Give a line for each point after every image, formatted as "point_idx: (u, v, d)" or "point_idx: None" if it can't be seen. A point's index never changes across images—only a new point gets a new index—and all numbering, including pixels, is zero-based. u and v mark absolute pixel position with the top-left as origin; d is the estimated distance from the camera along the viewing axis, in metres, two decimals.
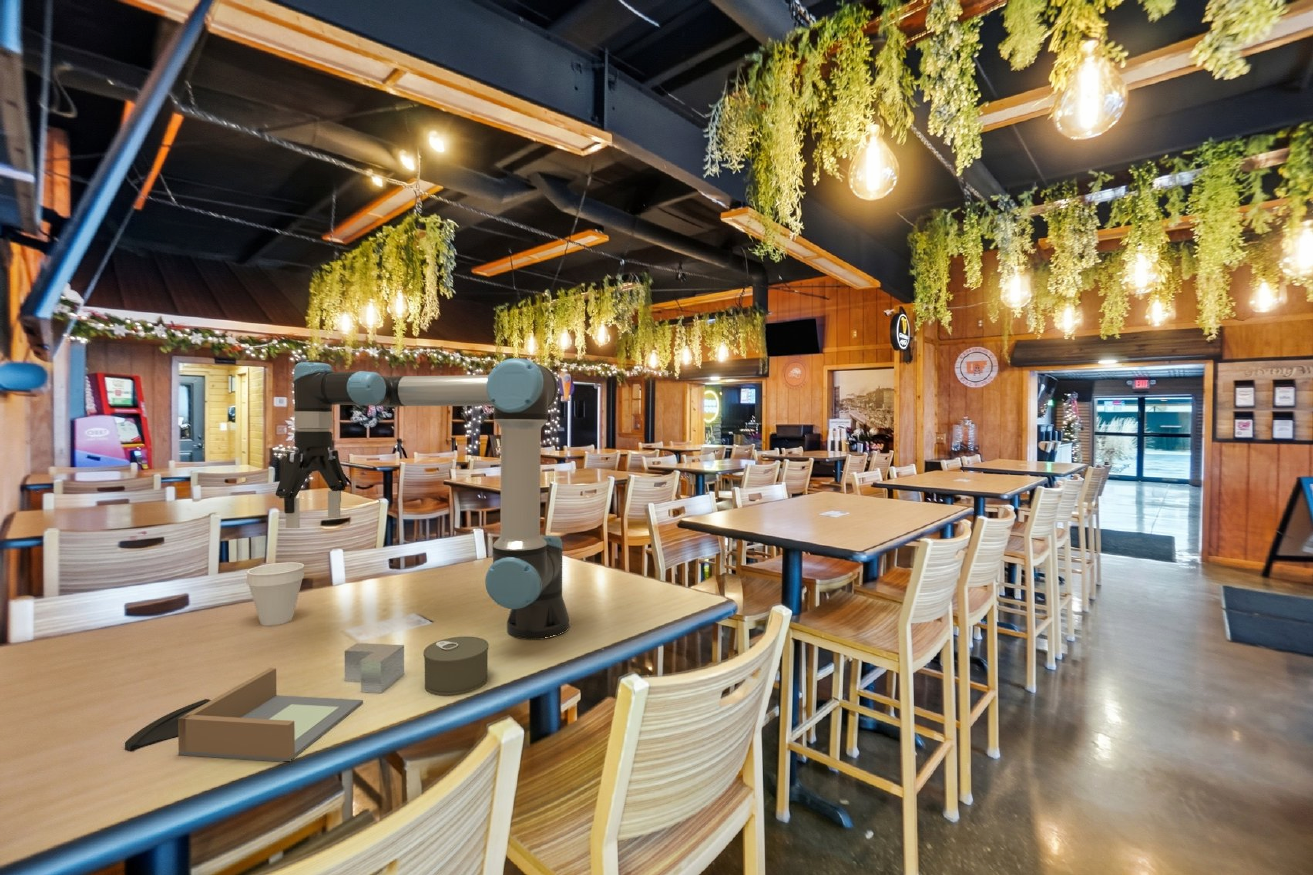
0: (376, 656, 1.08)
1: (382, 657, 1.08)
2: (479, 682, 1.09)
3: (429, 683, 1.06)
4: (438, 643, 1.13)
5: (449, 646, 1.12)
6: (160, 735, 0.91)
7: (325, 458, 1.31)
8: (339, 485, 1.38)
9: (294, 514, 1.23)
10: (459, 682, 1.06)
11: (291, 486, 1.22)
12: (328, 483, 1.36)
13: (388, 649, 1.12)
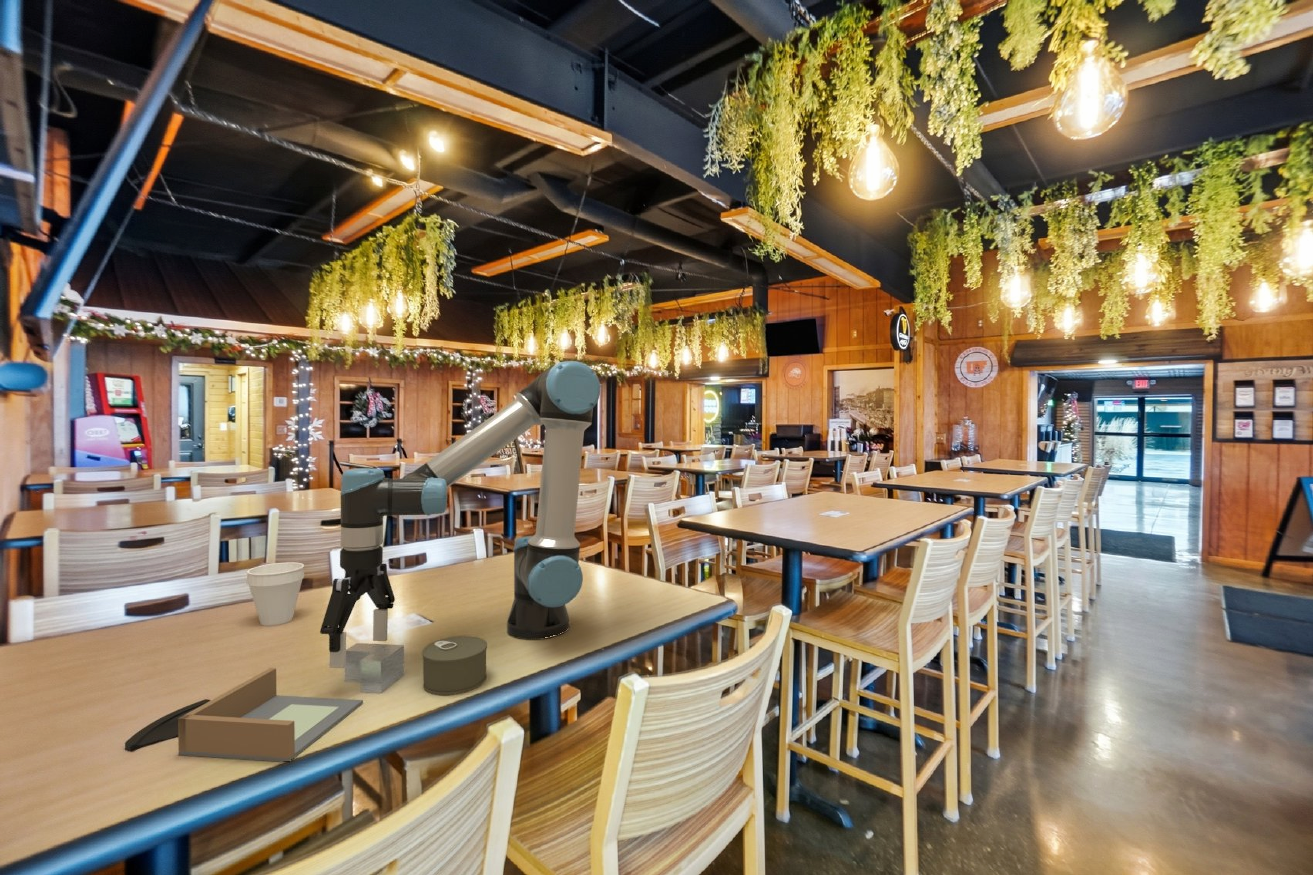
0: (376, 656, 1.08)
1: (382, 657, 1.08)
2: (478, 682, 1.09)
3: (427, 682, 1.07)
4: (437, 643, 1.13)
5: (448, 646, 1.12)
6: (160, 735, 0.91)
7: (374, 578, 1.13)
8: (387, 603, 1.19)
9: (340, 652, 1.05)
10: (458, 682, 1.06)
11: (338, 621, 1.04)
12: (374, 601, 1.18)
13: (388, 649, 1.12)
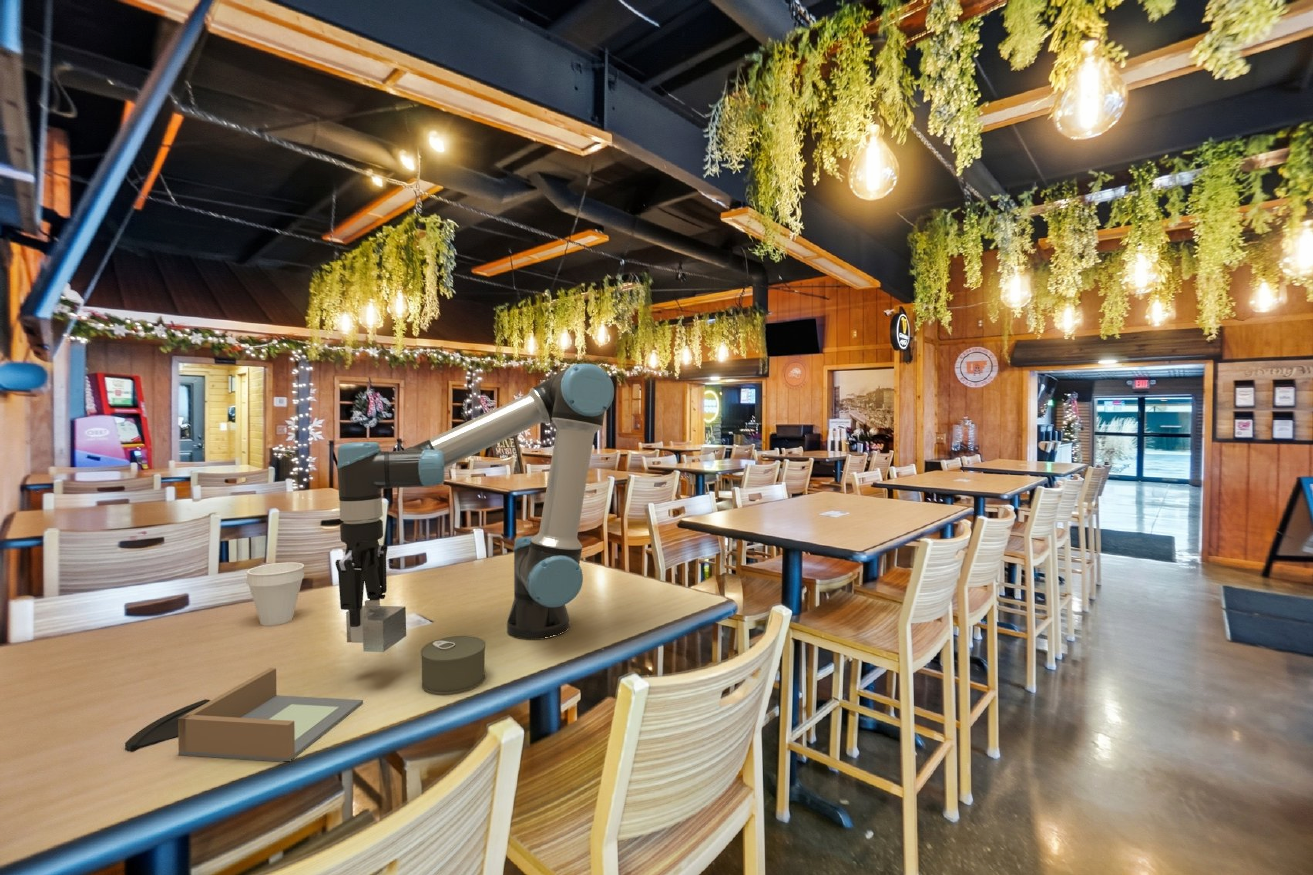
0: (378, 616, 1.08)
1: (384, 617, 1.08)
2: (476, 681, 1.09)
3: (426, 682, 1.07)
4: (435, 643, 1.13)
5: (446, 645, 1.13)
6: (160, 735, 0.91)
7: (375, 551, 1.13)
8: (379, 592, 1.16)
9: (360, 627, 1.10)
10: (457, 682, 1.06)
11: (354, 597, 1.08)
12: (367, 588, 1.15)
13: (389, 609, 1.12)
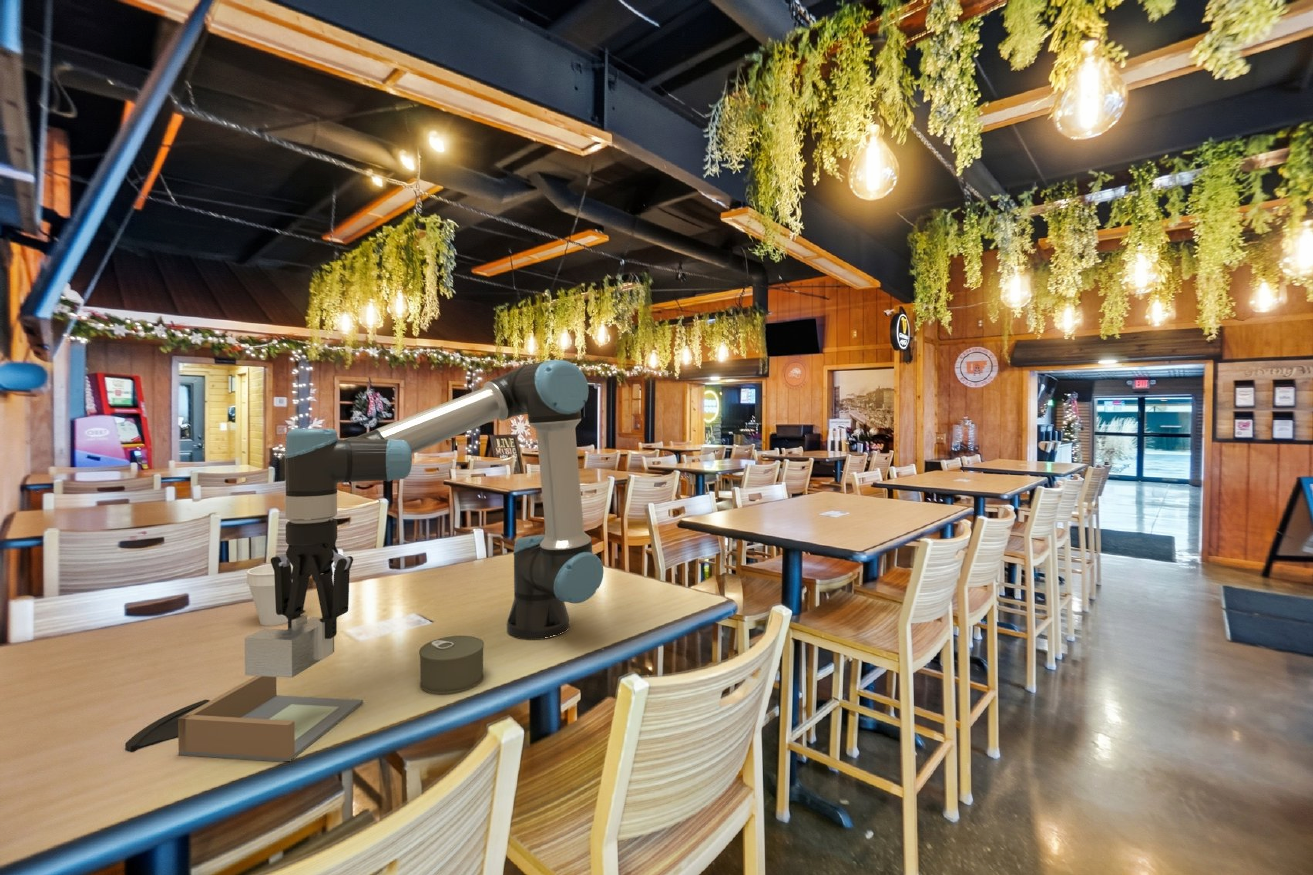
0: (267, 633, 0.92)
1: (258, 636, 0.90)
2: (475, 681, 1.09)
3: (425, 682, 1.07)
4: (433, 642, 1.13)
5: (445, 645, 1.13)
6: (160, 736, 0.91)
7: (310, 560, 0.94)
8: (324, 612, 0.95)
9: None
10: (455, 681, 1.06)
11: (280, 601, 0.96)
12: None
13: (288, 634, 0.91)
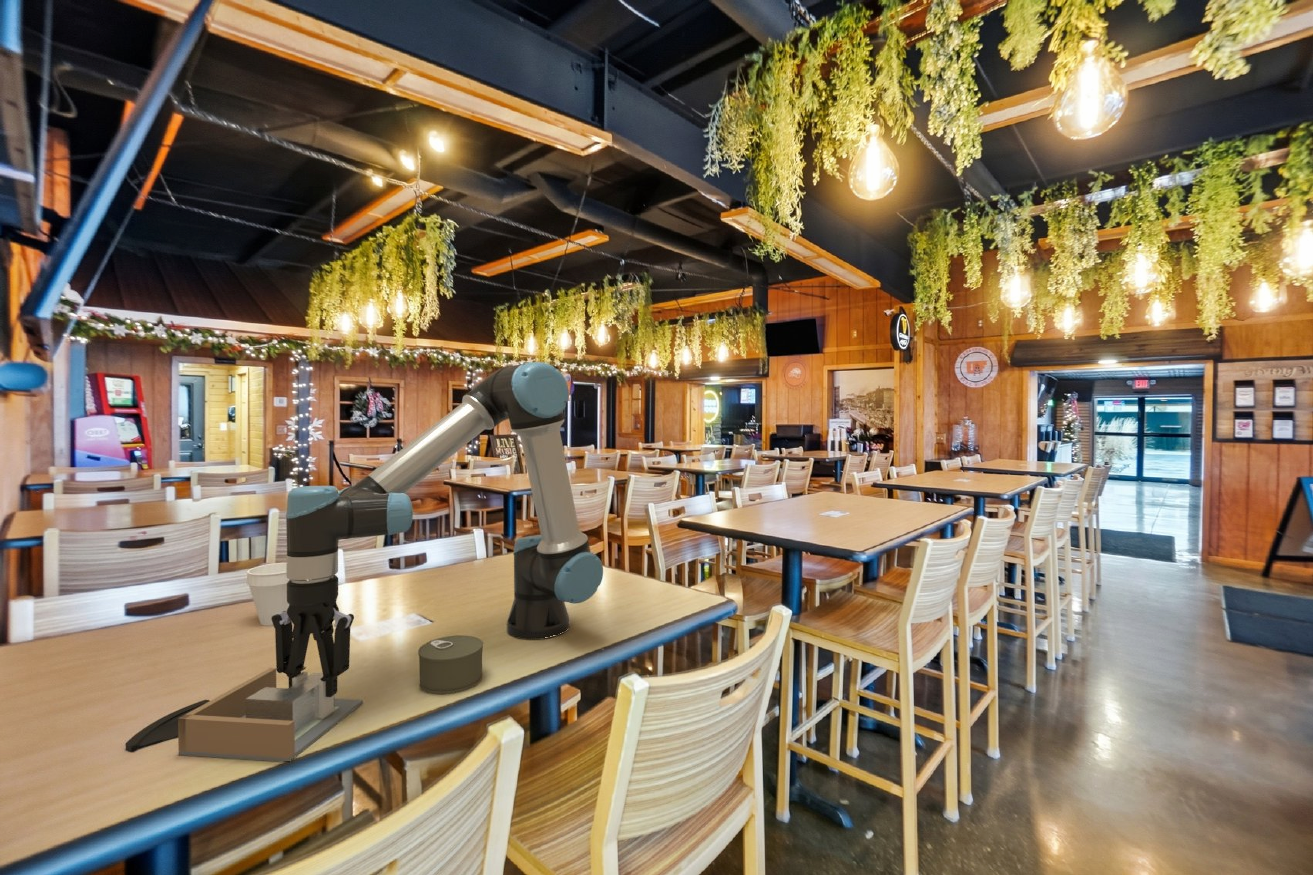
0: (268, 693, 0.92)
1: (259, 697, 0.91)
2: (474, 681, 1.09)
3: (424, 682, 1.07)
4: (433, 642, 1.14)
5: (444, 645, 1.13)
6: (161, 736, 0.91)
7: (311, 619, 0.94)
8: (325, 671, 0.95)
9: None
10: (454, 681, 1.06)
11: (281, 659, 0.96)
12: None
13: (289, 694, 0.92)
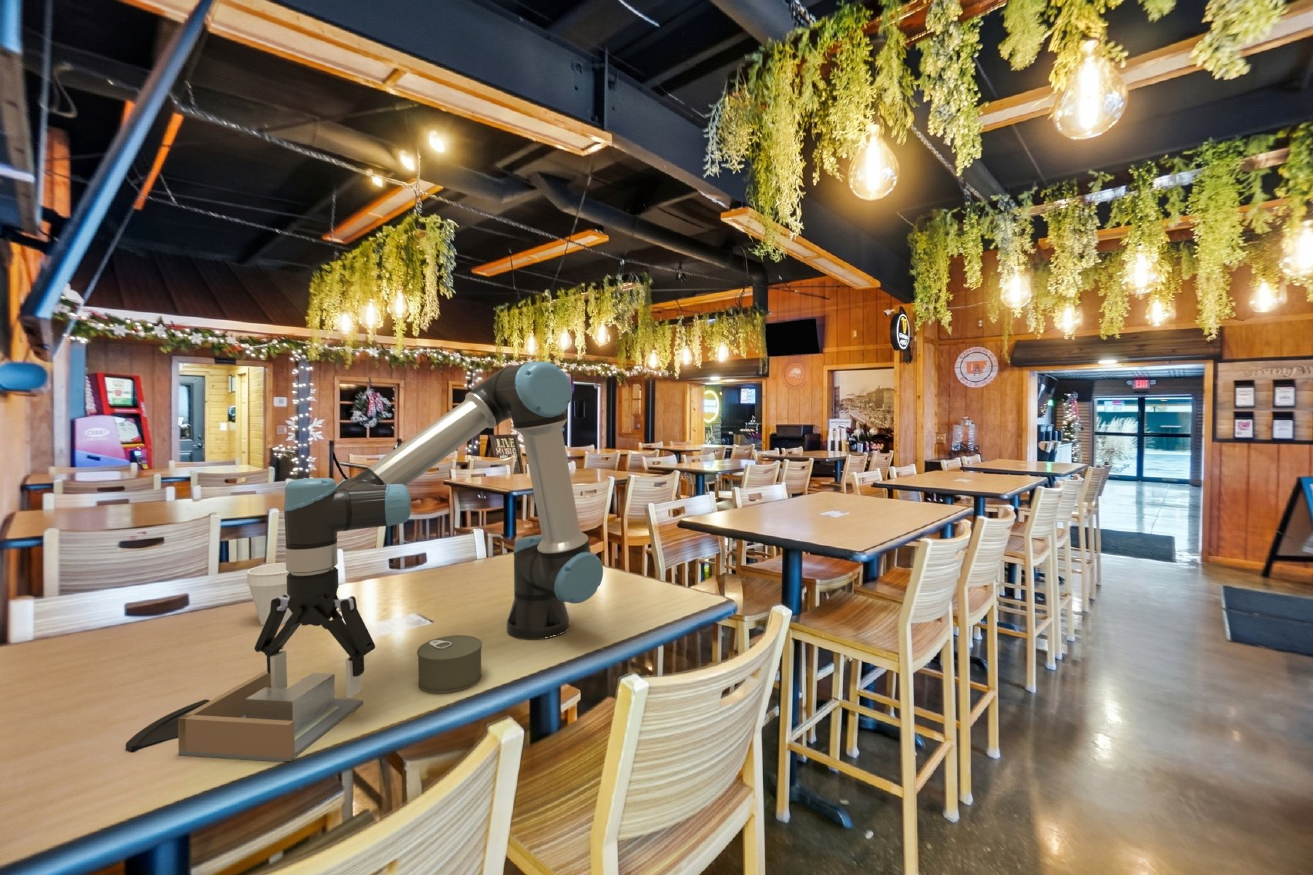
0: (268, 693, 0.92)
1: (259, 697, 0.91)
2: (473, 680, 1.09)
3: (423, 681, 1.07)
4: (431, 642, 1.14)
5: (443, 645, 1.13)
6: (161, 736, 0.91)
7: (312, 611, 0.94)
8: (350, 651, 0.95)
9: None
10: (453, 681, 1.06)
11: (263, 640, 0.96)
12: None
13: (289, 694, 0.92)
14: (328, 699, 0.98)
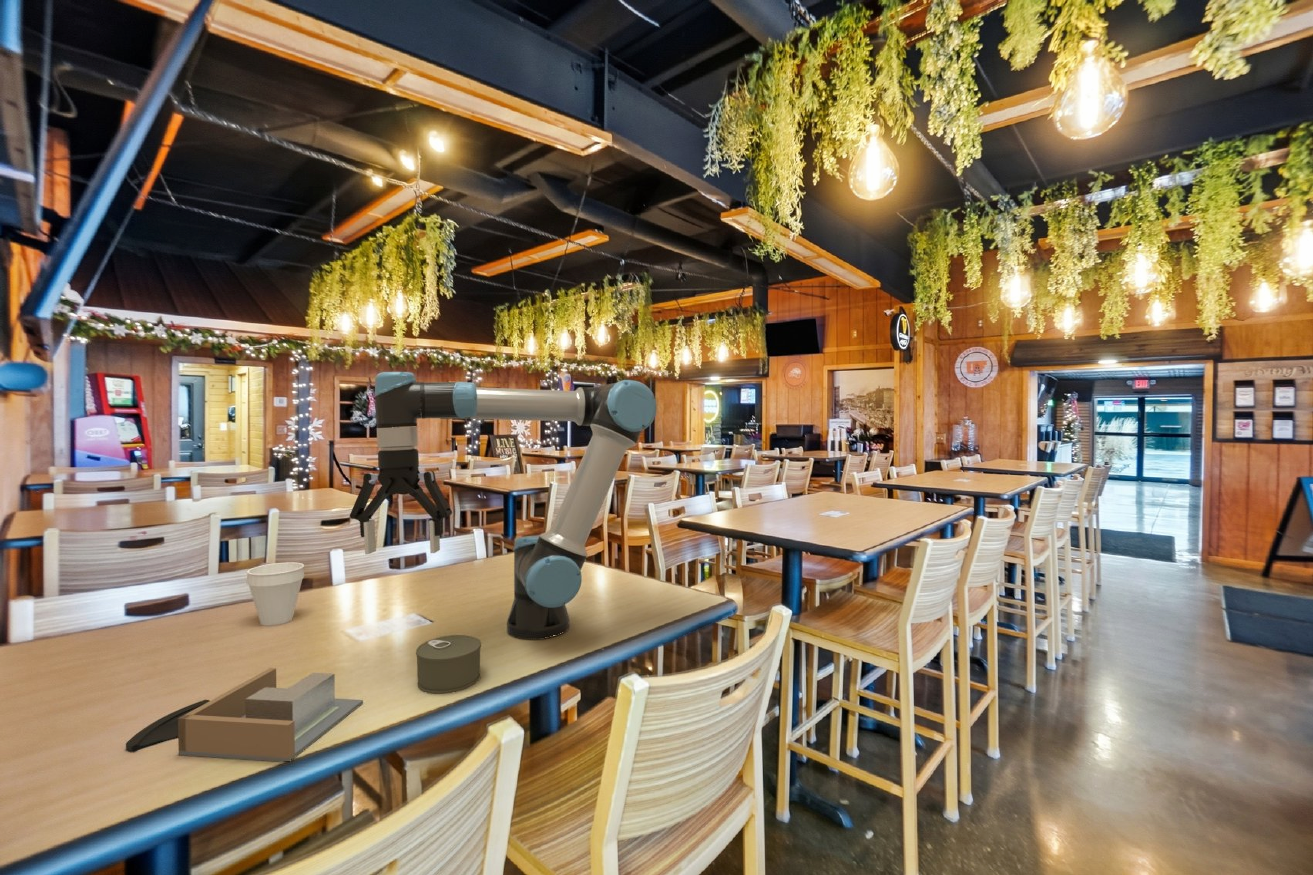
0: (268, 693, 0.92)
1: (259, 697, 0.91)
2: (472, 680, 1.09)
3: (422, 681, 1.07)
4: (430, 642, 1.14)
5: (441, 645, 1.13)
6: (161, 736, 0.91)
7: (400, 481, 1.13)
8: (432, 514, 1.14)
9: None
10: (452, 681, 1.07)
11: (357, 509, 1.15)
12: None
13: (289, 694, 0.92)
14: (328, 699, 0.98)
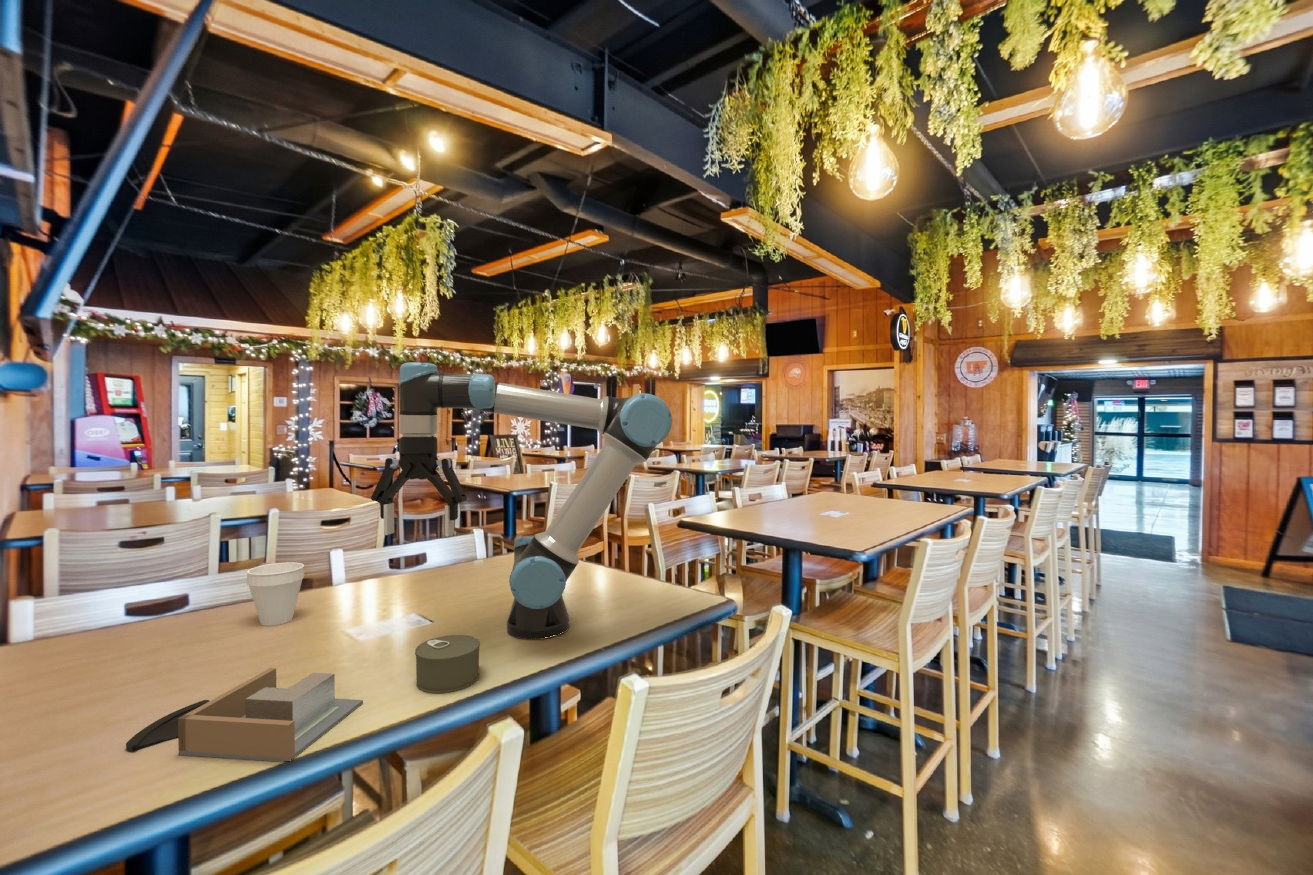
0: (268, 693, 0.92)
1: (259, 697, 0.91)
2: (471, 680, 1.10)
3: (421, 681, 1.07)
4: (429, 642, 1.14)
5: (440, 644, 1.13)
6: (161, 736, 0.91)
7: (419, 466, 1.19)
8: (448, 499, 1.20)
9: None
10: (451, 680, 1.07)
11: (378, 491, 1.21)
12: None
13: (289, 694, 0.92)
14: (328, 699, 0.98)
